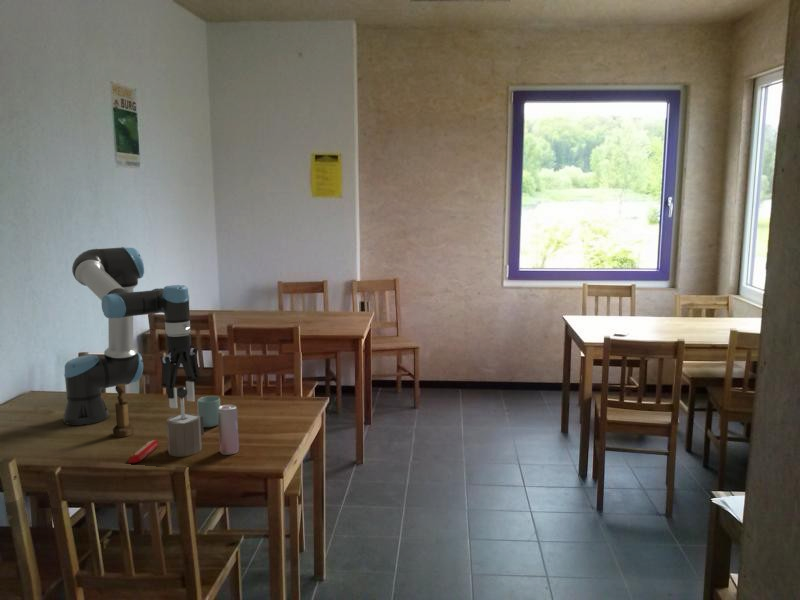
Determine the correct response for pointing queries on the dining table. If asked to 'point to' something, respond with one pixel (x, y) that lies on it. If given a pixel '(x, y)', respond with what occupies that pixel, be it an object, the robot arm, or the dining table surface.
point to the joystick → (182, 400)
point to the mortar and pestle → (122, 415)
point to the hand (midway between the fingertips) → (182, 404)
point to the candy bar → (143, 451)
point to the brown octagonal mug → (184, 434)
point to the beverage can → (228, 429)
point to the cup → (208, 410)
